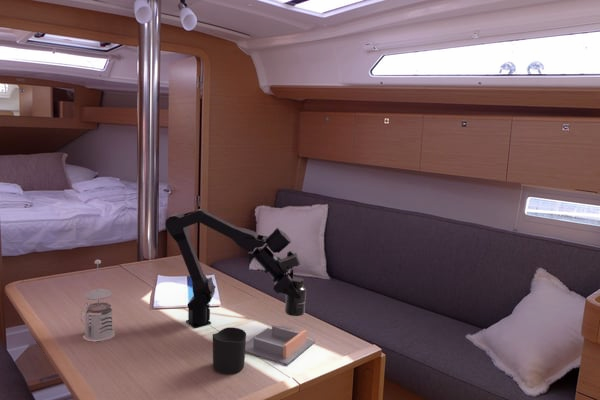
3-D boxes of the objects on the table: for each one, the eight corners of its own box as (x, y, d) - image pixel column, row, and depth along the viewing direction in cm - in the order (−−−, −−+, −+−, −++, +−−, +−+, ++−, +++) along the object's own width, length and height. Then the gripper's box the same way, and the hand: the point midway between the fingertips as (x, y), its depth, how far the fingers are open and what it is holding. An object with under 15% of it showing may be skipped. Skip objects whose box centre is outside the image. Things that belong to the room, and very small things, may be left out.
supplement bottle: (302, 317, 160) (304, 283, 158) (282, 315, 162) (284, 281, 160) (306, 310, 167) (308, 277, 165) (287, 308, 168) (289, 275, 166)
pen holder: (247, 373, 133) (248, 340, 132) (213, 377, 130) (214, 343, 129) (242, 358, 142) (243, 326, 141) (210, 361, 139) (210, 328, 138)
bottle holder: (236, 350, 147) (237, 335, 146) (267, 329, 163) (268, 316, 162) (287, 365, 138) (288, 350, 138) (315, 342, 154) (315, 329, 154)
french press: (122, 332, 156) (121, 257, 152) (96, 347, 145) (94, 267, 141) (97, 326, 159) (96, 254, 155) (70, 341, 148) (68, 263, 144)
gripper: (285, 253, 152) (318, 288, 153) (287, 239, 170) (316, 271, 172) (260, 275, 153) (292, 310, 154) (264, 259, 171) (293, 291, 173)
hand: (299, 294), depth 163 cm, fingers closed on supplement bottle, 7 cm apart
